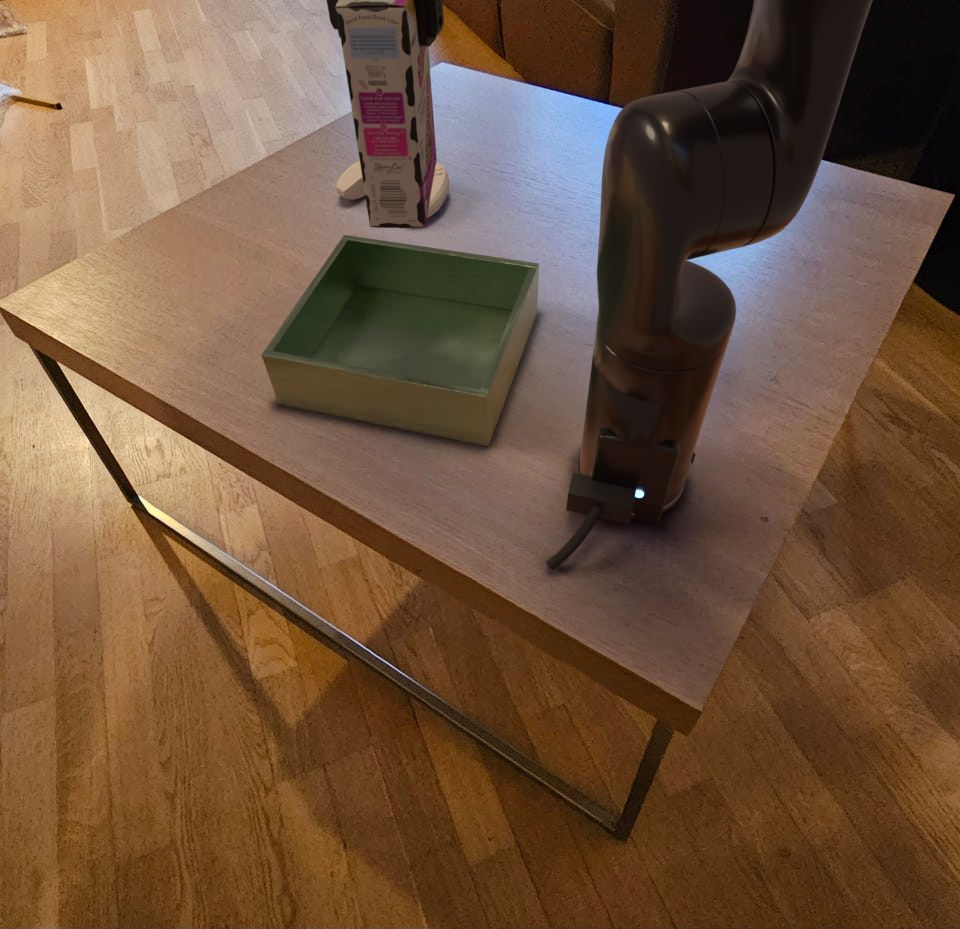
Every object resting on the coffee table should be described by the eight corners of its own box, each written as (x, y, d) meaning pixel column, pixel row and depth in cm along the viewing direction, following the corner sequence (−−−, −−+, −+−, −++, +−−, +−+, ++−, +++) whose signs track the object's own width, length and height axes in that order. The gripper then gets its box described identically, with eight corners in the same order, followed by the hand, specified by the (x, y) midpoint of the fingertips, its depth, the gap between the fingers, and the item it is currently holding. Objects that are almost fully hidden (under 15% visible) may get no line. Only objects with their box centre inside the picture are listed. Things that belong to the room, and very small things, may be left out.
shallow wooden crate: (488, 446, 67) (486, 397, 62) (278, 404, 71) (260, 354, 66) (537, 314, 79) (539, 263, 74) (354, 284, 83) (343, 234, 78)
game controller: (324, 182, 91) (367, 132, 95) (335, 209, 95) (376, 160, 99) (419, 211, 86) (461, 157, 90) (427, 239, 90) (466, 186, 94)
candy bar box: (429, 230, 59) (407, 4, 46) (369, 230, 59) (330, 6, 47) (440, 160, 66) (424, -52, 53) (386, 161, 66) (357, -51, 54)
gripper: (199, -283, 39) (277, 51, 52) (451, -287, 36) (467, 69, 49) (263, -299, 44) (320, 12, 57) (492, -304, 41) (496, 26, 54)
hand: (388, 37), depth 53 cm, fingers closed on candy bar box, 5 cm apart
